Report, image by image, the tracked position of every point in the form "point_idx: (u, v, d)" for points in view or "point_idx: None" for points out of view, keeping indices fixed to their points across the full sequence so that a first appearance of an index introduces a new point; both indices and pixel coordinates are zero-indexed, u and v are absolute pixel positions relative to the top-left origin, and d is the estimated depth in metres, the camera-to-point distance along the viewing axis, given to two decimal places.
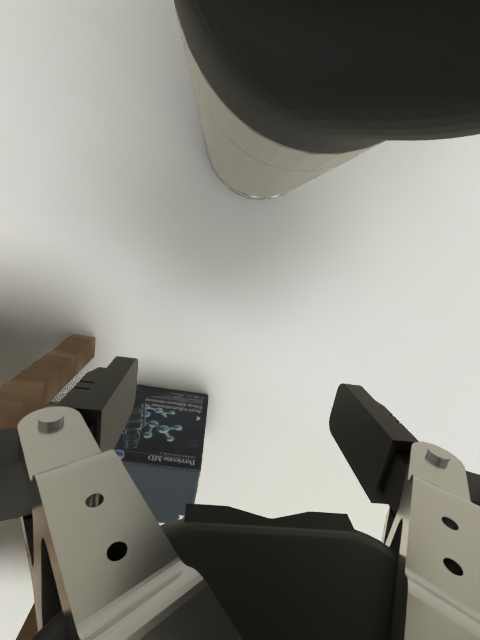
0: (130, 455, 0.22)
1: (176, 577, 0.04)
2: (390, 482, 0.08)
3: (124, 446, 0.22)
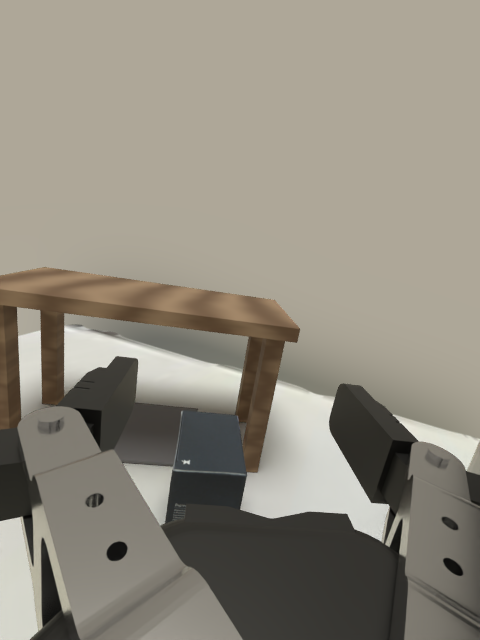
0: None
1: (176, 577, 0.04)
2: (390, 482, 0.08)
3: None
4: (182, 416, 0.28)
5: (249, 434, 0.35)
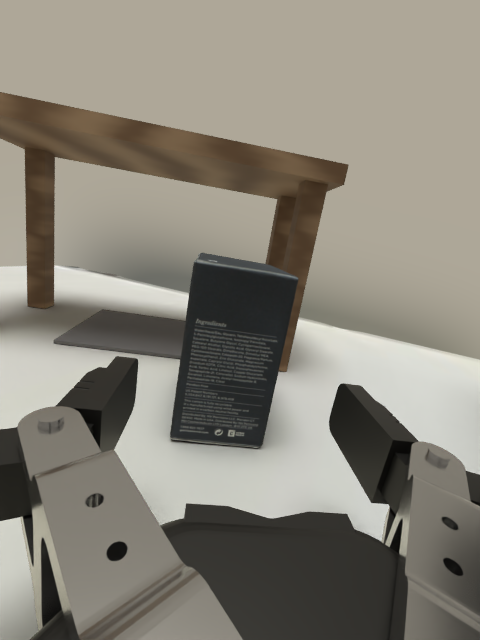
0: None
1: (176, 577, 0.04)
2: (390, 482, 0.08)
3: None
4: (200, 254, 0.21)
5: None
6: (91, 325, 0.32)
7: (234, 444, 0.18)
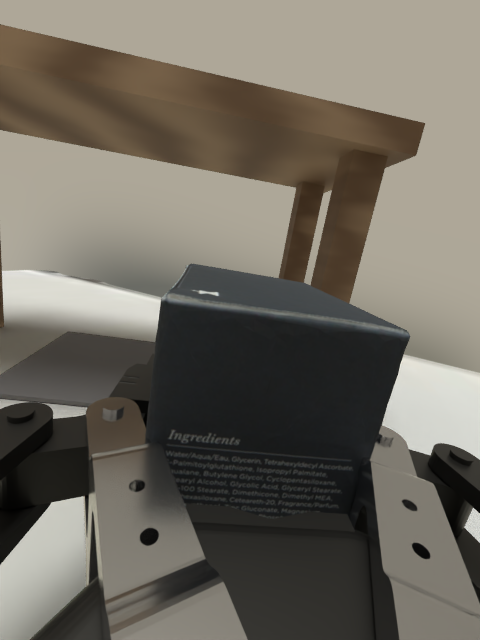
0: None
1: (198, 574, 0.04)
2: None
3: None
4: (189, 266, 0.12)
5: None
6: (44, 359, 0.24)
7: None
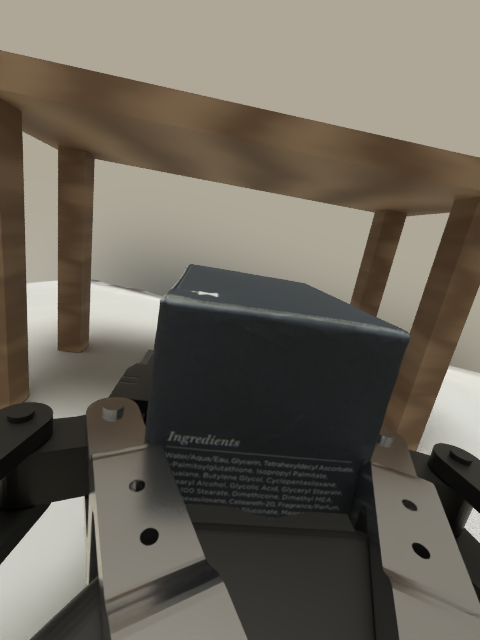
0: None
1: (198, 574, 0.04)
2: None
3: None
4: (189, 267, 0.12)
5: (415, 385, 0.20)
6: None
7: None
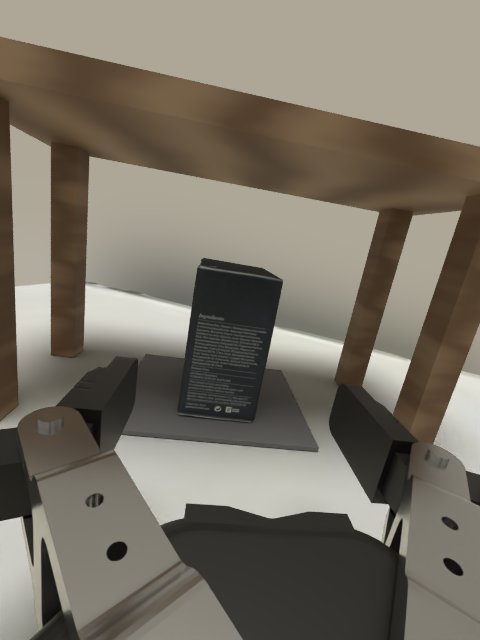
0: None
1: (176, 577, 0.04)
2: (390, 482, 0.08)
3: None
4: (203, 259, 0.25)
5: (426, 391, 0.19)
6: (142, 388, 0.24)
7: (231, 419, 0.21)
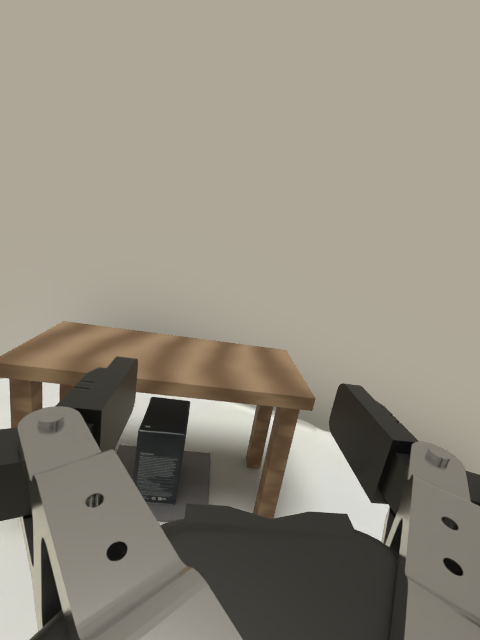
0: (188, 414, 0.40)
1: (176, 577, 0.04)
2: (390, 482, 0.08)
3: None
4: (150, 400, 0.41)
5: (264, 492, 0.36)
6: None
7: (161, 503, 0.38)
